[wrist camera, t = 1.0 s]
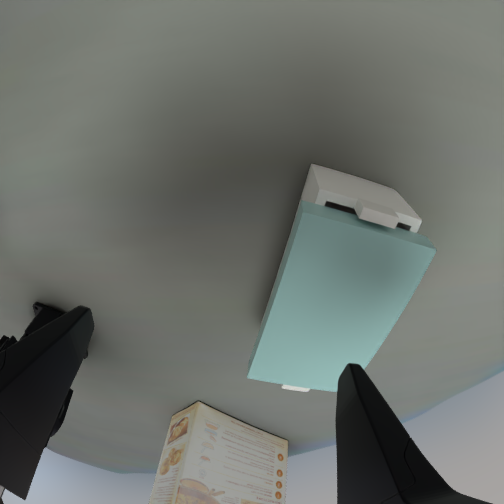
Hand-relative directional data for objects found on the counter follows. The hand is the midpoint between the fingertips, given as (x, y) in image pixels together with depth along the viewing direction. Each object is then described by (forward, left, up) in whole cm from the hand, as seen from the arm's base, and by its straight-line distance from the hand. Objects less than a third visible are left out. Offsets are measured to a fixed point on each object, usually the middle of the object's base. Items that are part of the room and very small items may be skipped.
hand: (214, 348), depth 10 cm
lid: (-3, -6, -8) cm, 11 cm away
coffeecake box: (-31, -4, -13) cm, 34 cm away
